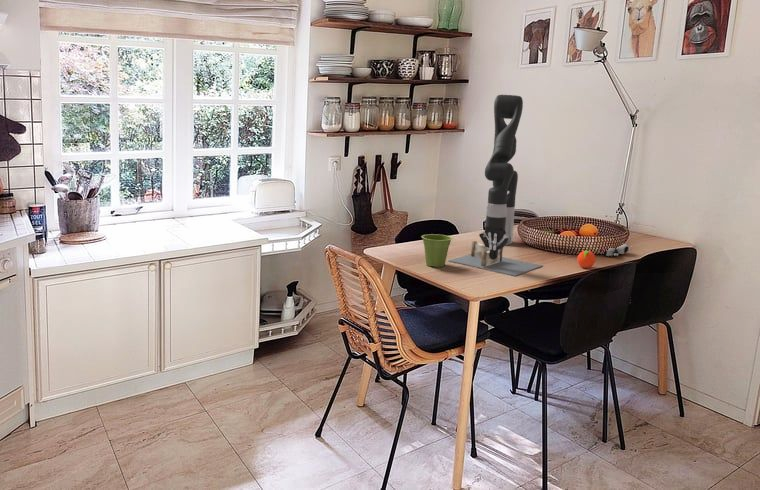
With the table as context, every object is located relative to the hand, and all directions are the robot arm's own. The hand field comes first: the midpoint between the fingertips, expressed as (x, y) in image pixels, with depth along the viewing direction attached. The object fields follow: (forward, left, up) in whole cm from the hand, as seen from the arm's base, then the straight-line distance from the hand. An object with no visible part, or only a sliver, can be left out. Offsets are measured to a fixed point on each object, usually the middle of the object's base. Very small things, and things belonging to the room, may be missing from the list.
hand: (493, 259), depth 259 cm
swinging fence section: (-3, -3, -3) cm, 5 cm away
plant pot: (+13, -18, -4) cm, 23 cm away
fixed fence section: (-10, -9, -4) cm, 14 cm away
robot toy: (-61, +23, -4) cm, 65 cm away
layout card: (-7, -3, -4) cm, 8 cm away
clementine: (-29, +25, -4) cm, 38 cm away
